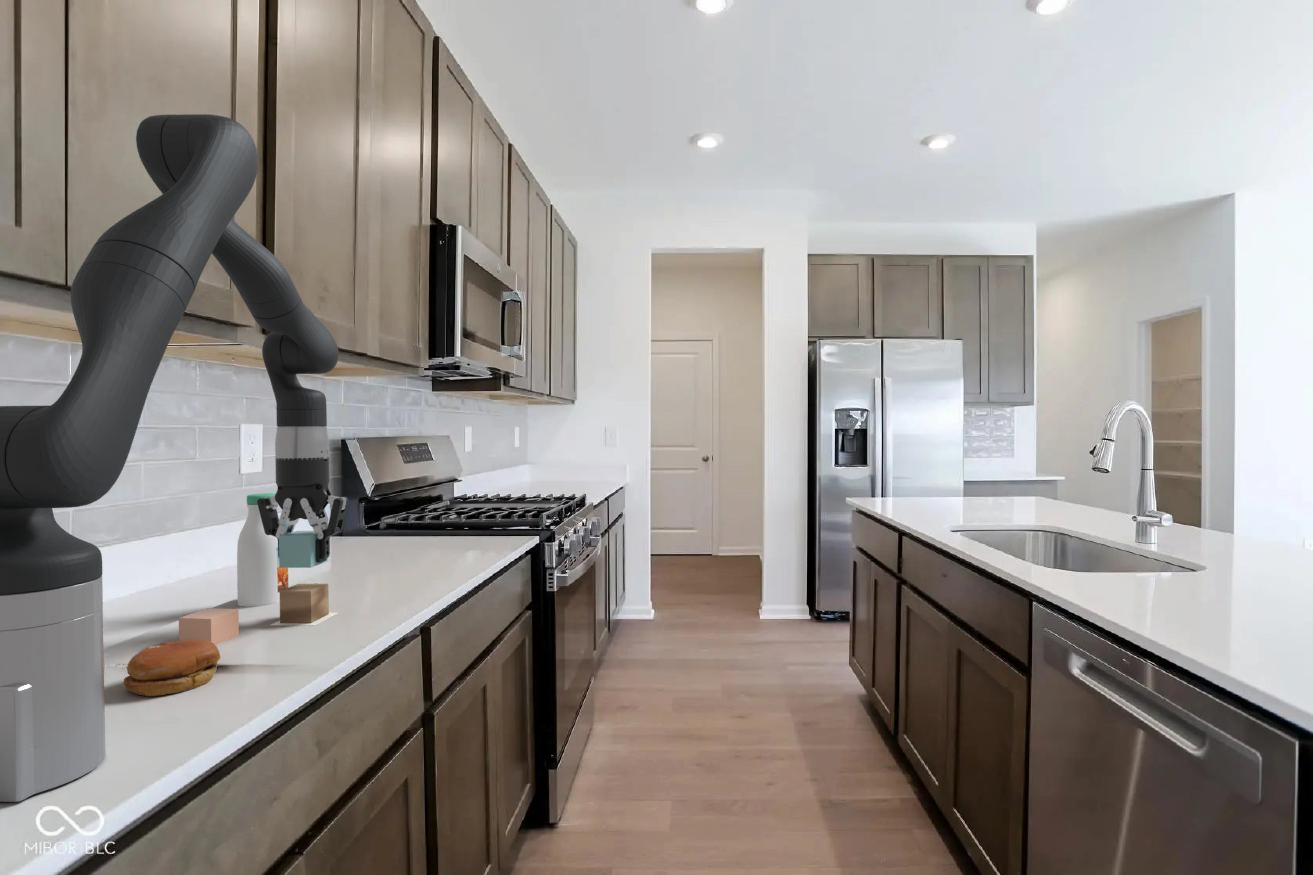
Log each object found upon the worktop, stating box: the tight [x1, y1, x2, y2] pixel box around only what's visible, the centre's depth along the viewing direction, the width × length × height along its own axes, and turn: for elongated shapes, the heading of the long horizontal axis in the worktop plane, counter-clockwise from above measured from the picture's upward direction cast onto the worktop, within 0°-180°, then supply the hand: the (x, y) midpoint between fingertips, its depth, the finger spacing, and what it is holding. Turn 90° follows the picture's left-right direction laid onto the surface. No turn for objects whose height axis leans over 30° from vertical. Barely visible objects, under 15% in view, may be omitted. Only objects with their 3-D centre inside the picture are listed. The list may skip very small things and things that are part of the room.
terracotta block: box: [178, 607, 240, 646], centre depth 93 cm, size 5×5×5 cm
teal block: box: [279, 530, 329, 569], centre depth 104 cm, size 5×5×5 cm
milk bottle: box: [236, 492, 289, 608], centre depth 115 cm, size 8×8×20 cm
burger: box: [123, 640, 221, 697], centre depth 80 cm, size 10×9×5 cm
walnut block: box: [279, 583, 330, 623], centre depth 104 cm, size 5×5×5 cm
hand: (304, 561), depth 104 cm, fingers closed on teal block, 5 cm apart
